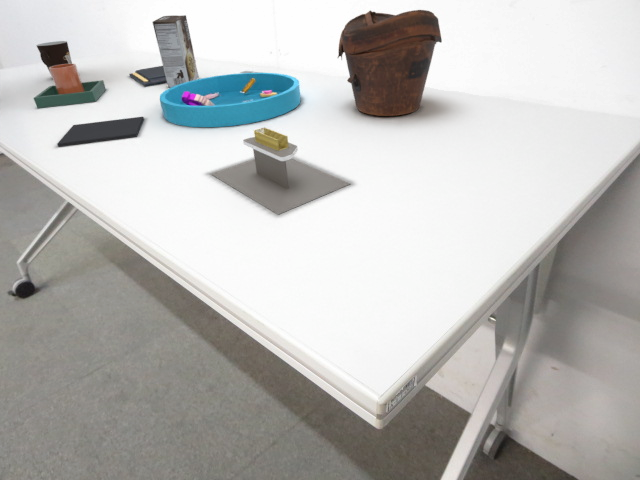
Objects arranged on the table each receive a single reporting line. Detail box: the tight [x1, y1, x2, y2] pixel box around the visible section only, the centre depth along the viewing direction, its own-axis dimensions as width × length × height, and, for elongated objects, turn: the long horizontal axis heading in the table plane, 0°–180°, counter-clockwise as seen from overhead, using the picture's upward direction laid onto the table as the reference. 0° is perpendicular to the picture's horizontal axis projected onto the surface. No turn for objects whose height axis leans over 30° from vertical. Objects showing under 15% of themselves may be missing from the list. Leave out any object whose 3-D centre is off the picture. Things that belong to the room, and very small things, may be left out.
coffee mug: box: [36, 40, 73, 77], centre depth 138 cm, size 12×9×10 cm
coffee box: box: [152, 14, 200, 88], centre depth 117 cm, size 9×6×16 cm
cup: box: [48, 63, 85, 94], centre depth 113 cm, size 6×6×8 cm
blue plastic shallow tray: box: [159, 72, 301, 128], centre depth 97 cm, size 30×30×6 cm
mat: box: [56, 116, 145, 148], centre depth 88 cm, size 14×12×1 cm
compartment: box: [33, 79, 107, 109], centre depth 114 cm, size 14×14×2 cm
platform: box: [210, 127, 351, 215], centre depth 61 cm, size 12×18×7 cm, turn 39°
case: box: [337, 9, 443, 117], centre depth 85 cm, size 18×20×18 cm
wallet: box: [128, 65, 167, 88], centre depth 131 cm, size 20×2×15 cm
